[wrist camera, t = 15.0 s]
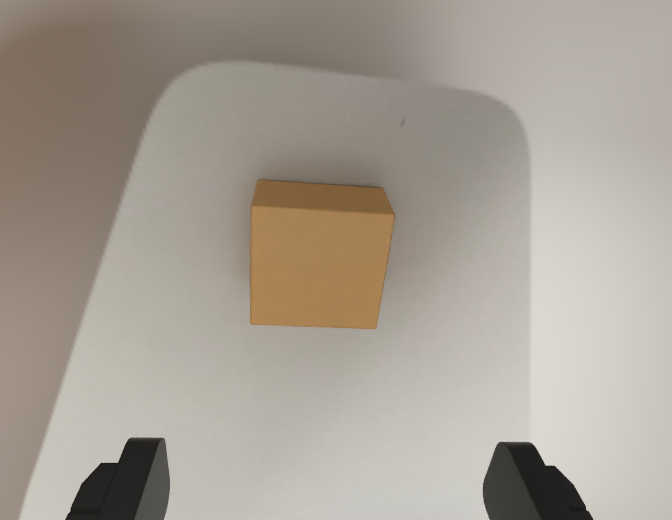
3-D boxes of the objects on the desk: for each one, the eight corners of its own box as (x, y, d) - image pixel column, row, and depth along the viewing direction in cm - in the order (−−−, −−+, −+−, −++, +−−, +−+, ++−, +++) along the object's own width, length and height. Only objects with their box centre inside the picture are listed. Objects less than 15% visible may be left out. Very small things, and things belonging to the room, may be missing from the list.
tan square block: (257, 179, 20) (250, 205, 17) (384, 187, 21) (395, 214, 18) (255, 288, 23) (249, 325, 20) (368, 293, 23) (376, 329, 21)
